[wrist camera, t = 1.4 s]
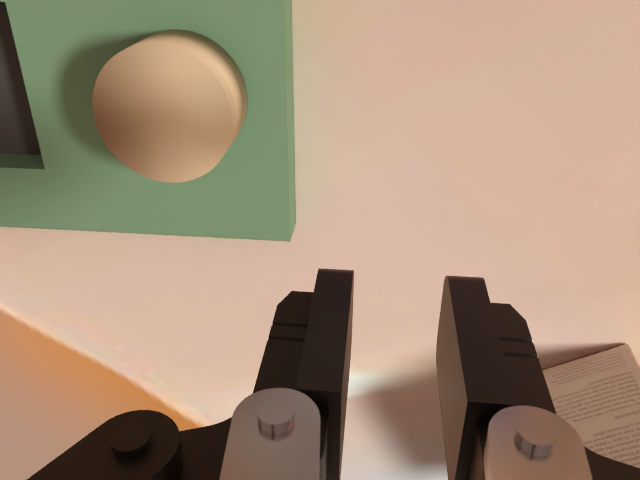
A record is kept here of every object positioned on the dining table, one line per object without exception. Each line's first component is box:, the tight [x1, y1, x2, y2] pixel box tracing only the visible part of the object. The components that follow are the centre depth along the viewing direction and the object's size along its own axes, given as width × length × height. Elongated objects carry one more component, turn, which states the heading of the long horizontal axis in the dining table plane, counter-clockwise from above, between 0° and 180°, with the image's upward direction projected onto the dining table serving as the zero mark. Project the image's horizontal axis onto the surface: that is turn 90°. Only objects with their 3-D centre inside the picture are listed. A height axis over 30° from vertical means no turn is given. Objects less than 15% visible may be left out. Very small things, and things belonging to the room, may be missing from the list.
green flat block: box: [0, 0, 296, 241], centre depth 26 cm, size 14×21×5 cm, turn 90°
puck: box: [92, 29, 248, 183], centre depth 25 cm, size 6×6×3 cm
